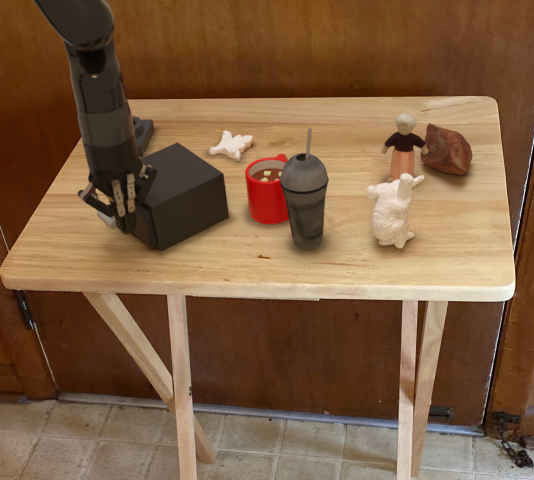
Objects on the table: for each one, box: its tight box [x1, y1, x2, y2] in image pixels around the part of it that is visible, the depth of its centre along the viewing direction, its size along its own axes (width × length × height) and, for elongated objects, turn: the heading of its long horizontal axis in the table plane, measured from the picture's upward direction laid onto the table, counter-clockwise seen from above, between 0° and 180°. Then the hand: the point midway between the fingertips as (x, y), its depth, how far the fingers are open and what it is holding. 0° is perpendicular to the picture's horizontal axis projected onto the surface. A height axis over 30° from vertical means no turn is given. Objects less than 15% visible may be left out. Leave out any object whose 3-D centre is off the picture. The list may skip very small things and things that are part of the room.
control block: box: [132, 115, 155, 157], centre depth 155 cm, size 10×8×4 cm
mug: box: [244, 153, 289, 225], centre depth 135 cm, size 8×12×8 cm, turn 164°
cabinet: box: [140, 142, 230, 252], centre depth 134 cm, size 14×14×9 cm
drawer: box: [96, 204, 158, 249], centre depth 133 cm, size 17×12×7 cm
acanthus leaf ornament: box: [208, 130, 254, 162], centre depth 151 cm, size 8×7×2 cm
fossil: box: [419, 122, 474, 176], centre depth 140 cm, size 13×8×10 cm
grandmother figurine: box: [380, 112, 428, 183], centre depth 135 cm, size 8×4×13 cm, turn 89°
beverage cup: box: [280, 127, 330, 252], centre depth 122 cm, size 7×7×20 cm
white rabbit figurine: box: [365, 173, 425, 250], centre depth 124 cm, size 8×7×12 cm
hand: (127, 231), depth 127 cm, fingers closed
